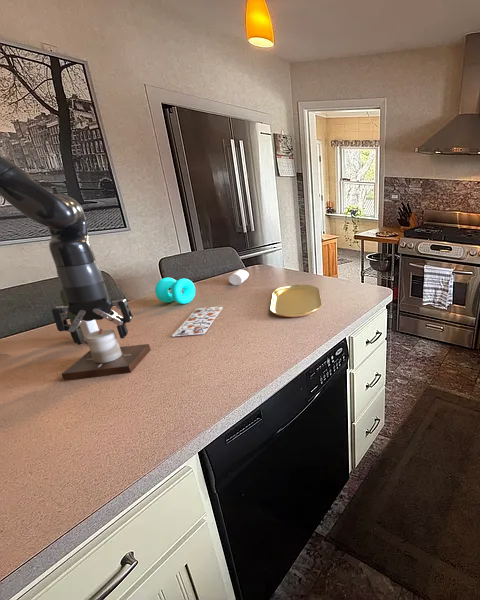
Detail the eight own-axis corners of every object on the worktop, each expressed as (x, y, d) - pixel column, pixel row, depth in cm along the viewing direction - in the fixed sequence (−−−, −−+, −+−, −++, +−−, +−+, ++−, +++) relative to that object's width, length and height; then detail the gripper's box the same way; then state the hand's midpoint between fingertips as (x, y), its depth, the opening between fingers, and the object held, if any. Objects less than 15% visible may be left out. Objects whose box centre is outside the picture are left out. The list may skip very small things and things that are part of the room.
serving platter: (317, 286, 149) (317, 283, 149) (324, 315, 118) (323, 311, 117) (274, 289, 144) (274, 286, 143) (269, 321, 113) (268, 317, 112)
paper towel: (196, 308, 123) (223, 306, 125) (196, 308, 123) (223, 306, 125) (171, 336, 101) (204, 333, 103) (171, 337, 101) (204, 334, 103)
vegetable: (72, 338, 100) (48, 275, 93) (88, 332, 104) (66, 271, 97) (83, 339, 99) (59, 277, 92) (98, 333, 103) (77, 273, 96)
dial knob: (121, 359, 85) (112, 334, 83) (92, 365, 82) (83, 339, 80) (123, 350, 90) (115, 326, 87) (96, 355, 87) (87, 331, 84)
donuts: (180, 308, 123) (173, 283, 120) (157, 306, 125) (150, 281, 121) (199, 299, 132) (194, 275, 129) (177, 297, 134) (171, 274, 130)
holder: (64, 380, 79) (60, 373, 79) (92, 356, 90) (90, 349, 90) (131, 372, 83) (128, 365, 82) (150, 349, 94) (148, 343, 93)
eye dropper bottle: (105, 334, 102) (92, 299, 98) (101, 342, 98) (87, 305, 93) (86, 338, 100) (73, 301, 96) (81, 345, 96) (67, 308, 91)
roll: (252, 277, 161) (250, 266, 159) (242, 285, 149) (240, 273, 147) (240, 277, 160) (238, 266, 158) (229, 285, 149) (227, 273, 147)
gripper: (34, 289, 73) (60, 352, 78) (114, 282, 78) (133, 341, 84) (50, 280, 79) (73, 339, 85) (123, 273, 85) (140, 329, 91)
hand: (103, 340), depth 84 cm, fingers open, 8 cm apart
